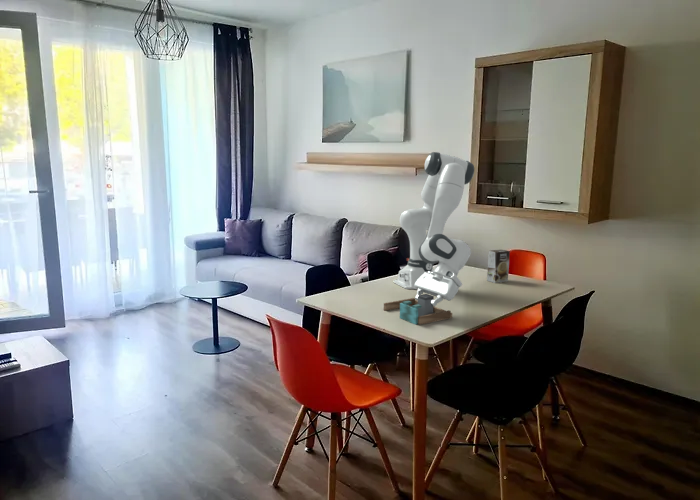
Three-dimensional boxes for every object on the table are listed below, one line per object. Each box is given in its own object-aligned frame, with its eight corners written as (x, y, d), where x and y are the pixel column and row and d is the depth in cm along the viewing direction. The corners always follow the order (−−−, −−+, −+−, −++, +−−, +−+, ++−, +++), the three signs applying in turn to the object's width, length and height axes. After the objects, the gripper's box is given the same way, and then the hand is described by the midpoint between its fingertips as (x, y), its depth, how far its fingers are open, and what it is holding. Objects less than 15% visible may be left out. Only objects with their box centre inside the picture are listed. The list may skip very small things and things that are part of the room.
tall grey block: (417, 317, 208) (417, 295, 206) (425, 315, 210) (426, 293, 209) (424, 319, 204) (425, 297, 203) (432, 318, 207) (433, 296, 205)
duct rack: (381, 310, 217) (382, 294, 215) (415, 304, 226) (415, 289, 225) (417, 325, 198) (418, 308, 196) (452, 317, 207) (452, 301, 206)
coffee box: (495, 283, 266) (496, 252, 263) (486, 280, 271) (488, 250, 268) (508, 281, 270) (510, 250, 267) (499, 278, 275) (501, 248, 273)
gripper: (422, 266, 217) (403, 291, 213) (457, 275, 200) (437, 303, 196) (430, 275, 220) (411, 300, 216) (465, 285, 203) (445, 313, 199)
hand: (424, 302), depth 206 cm, fingers open, 8 cm apart
